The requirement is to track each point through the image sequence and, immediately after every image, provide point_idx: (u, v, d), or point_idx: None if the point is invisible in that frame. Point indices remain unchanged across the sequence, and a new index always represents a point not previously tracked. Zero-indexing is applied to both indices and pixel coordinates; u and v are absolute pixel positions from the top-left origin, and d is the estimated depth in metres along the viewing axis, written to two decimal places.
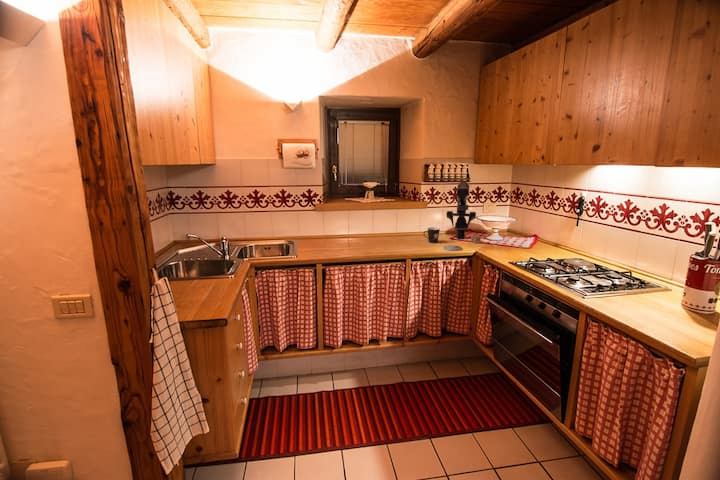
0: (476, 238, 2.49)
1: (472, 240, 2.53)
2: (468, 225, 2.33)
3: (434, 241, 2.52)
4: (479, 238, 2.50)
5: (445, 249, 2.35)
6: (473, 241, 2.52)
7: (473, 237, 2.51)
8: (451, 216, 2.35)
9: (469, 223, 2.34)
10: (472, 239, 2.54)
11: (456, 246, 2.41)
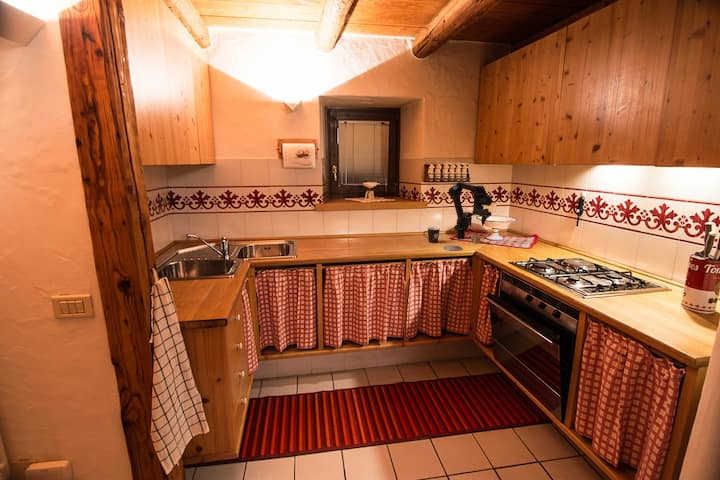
0: (476, 238, 2.49)
1: (472, 240, 2.53)
2: (483, 224, 2.50)
3: (434, 241, 2.52)
4: (479, 238, 2.50)
5: (445, 249, 2.35)
6: (473, 241, 2.52)
7: (473, 237, 2.51)
8: (470, 218, 2.45)
9: None
10: (472, 239, 2.54)
11: (456, 246, 2.41)
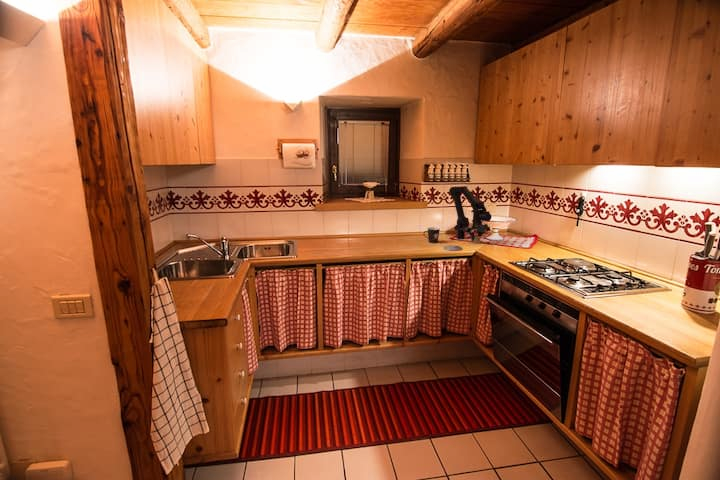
0: (476, 238, 2.49)
1: None
2: None
3: (434, 241, 2.52)
4: (479, 238, 2.49)
5: (445, 249, 2.35)
6: (473, 241, 2.52)
7: None
8: (473, 233, 2.48)
9: None
10: None
11: (456, 246, 2.41)
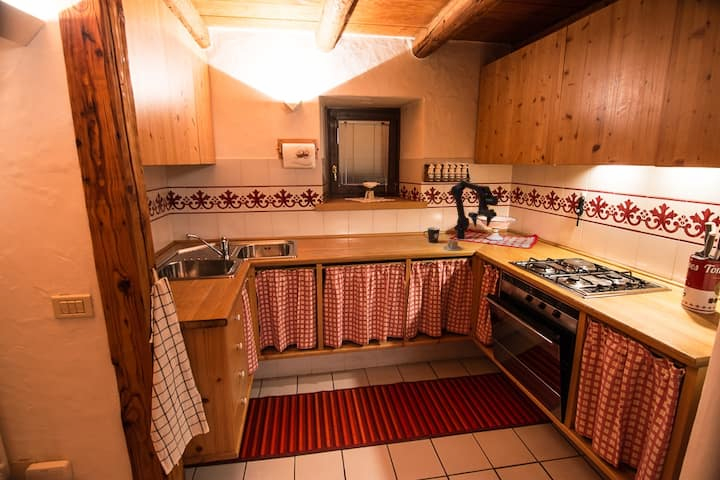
0: (453, 243, 2.34)
1: (449, 245, 2.38)
2: (488, 224, 2.48)
3: (434, 241, 2.52)
4: (456, 243, 2.34)
5: (445, 249, 2.35)
6: (450, 246, 2.37)
7: (450, 242, 2.36)
8: (475, 218, 2.43)
9: None
10: (449, 243, 2.38)
11: None
